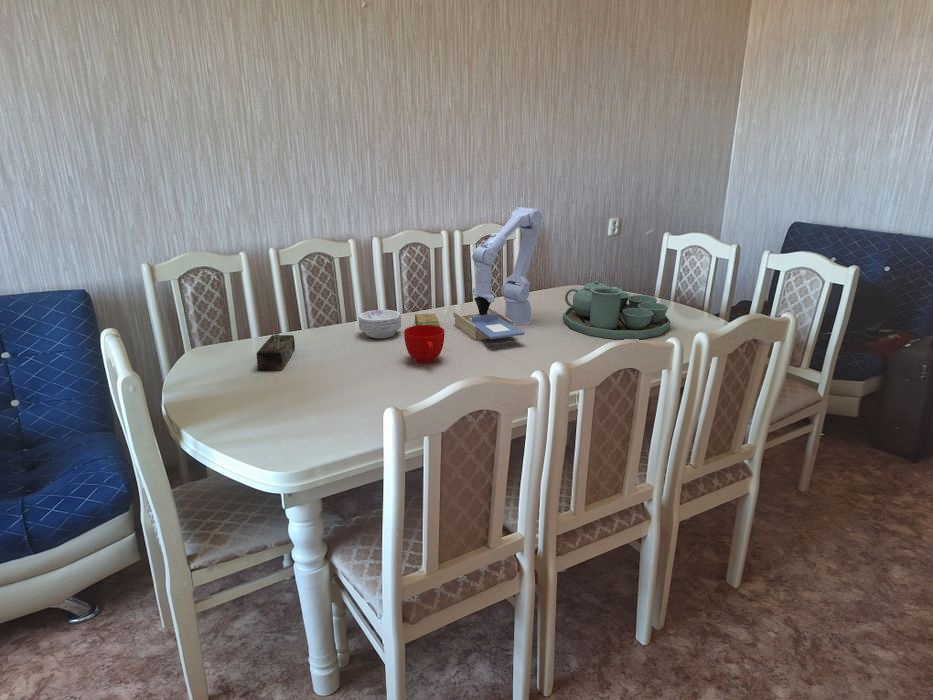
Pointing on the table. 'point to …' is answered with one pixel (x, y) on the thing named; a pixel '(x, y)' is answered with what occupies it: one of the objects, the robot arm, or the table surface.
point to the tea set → (615, 313)
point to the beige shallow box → (470, 328)
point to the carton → (426, 319)
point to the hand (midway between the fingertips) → (483, 316)
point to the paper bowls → (380, 323)
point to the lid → (494, 326)
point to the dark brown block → (275, 353)
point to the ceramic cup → (424, 342)
